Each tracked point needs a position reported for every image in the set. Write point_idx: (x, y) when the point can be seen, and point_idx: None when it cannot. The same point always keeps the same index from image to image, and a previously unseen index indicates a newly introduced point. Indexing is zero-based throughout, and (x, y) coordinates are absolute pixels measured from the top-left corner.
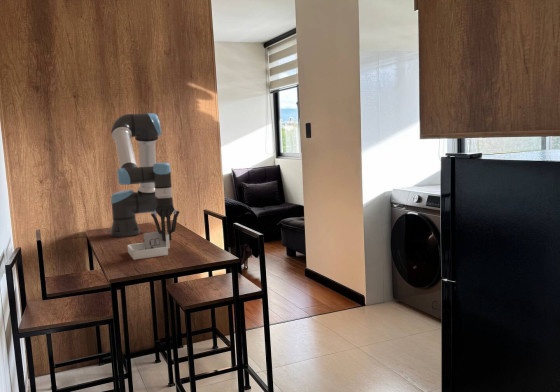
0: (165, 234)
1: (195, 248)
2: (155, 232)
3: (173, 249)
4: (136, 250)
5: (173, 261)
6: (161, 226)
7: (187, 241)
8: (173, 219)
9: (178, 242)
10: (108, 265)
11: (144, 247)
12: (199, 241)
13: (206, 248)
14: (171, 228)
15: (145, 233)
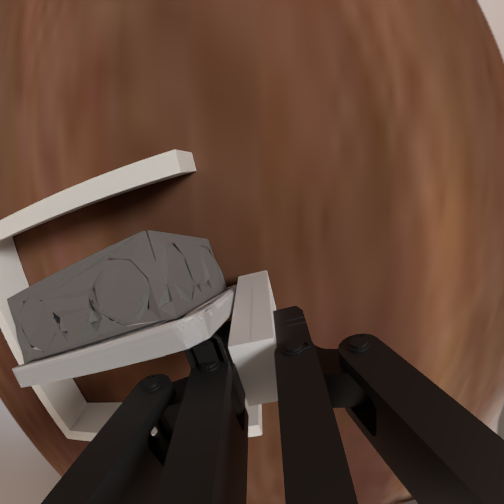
0: (245, 394)
1: (450, 280)
2: (107, 368)
3: (305, 255)
4: (32, 227)
5: (283, 487)
6: (175, 441)
7: (410, 16)
8: (446, 500)
9: (344, 10)
10: (30, 432)
11: (65, 213)
12: (484, 68)
13: (493, 301)
14: (351, 371)
15: (26, 386)
